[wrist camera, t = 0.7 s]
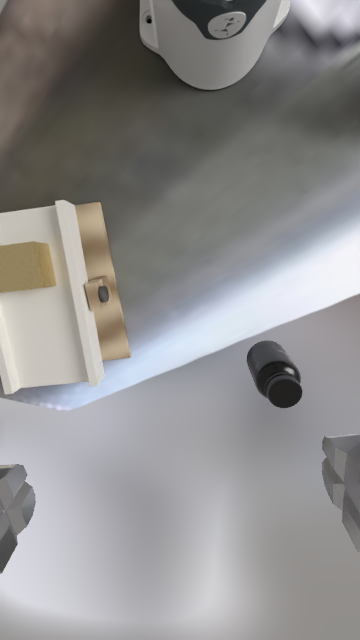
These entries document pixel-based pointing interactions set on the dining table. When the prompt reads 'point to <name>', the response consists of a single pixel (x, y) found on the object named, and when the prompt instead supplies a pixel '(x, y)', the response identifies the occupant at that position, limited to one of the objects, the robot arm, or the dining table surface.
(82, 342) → the beam
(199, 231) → the dining table surface
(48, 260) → the block
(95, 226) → the stand
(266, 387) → the supplement bottle
